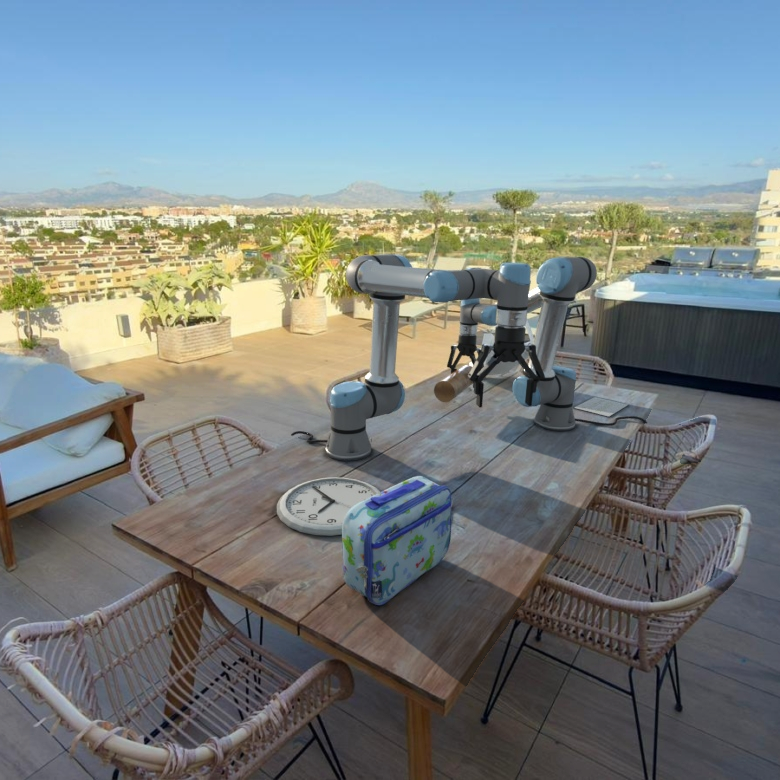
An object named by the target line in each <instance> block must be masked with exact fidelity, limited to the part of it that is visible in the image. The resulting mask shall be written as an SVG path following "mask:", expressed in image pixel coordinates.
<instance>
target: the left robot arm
mask: <svg viewBox="0 0 780 780" xmlns="http://www.w3.org/2000/svg"><path fill="white" fill-rule="evenodd" d="M412 265H413V264H412V263H410V260H409V259H408V258H406V257H405V256H404V255H401V254H393V253H392V254H391V253H385V254H365V255H364V254H363V255H360V256H357V257H355V258H354V259H352V260H351V261H350V262H349V264H348V265H347V267H346V272H345V279H346V282H347V285H348V286H349V287H350V288H351V290H353V291H355V292H356V293H358V294H364V295H365V294H366V295H368V297H369V299H370V300H371V301H372V302H373V304H372V321H371V322H372V323H371V340H370V341H371V342H370V343H371V344H370V360H369V363H370V364H369V371H368V372H367V373H366V374H365V375H364V382H362V381H358V380H352V381H344V382H340V383H339V384H336V385H334V386H333V388H332V389H331V391H330V397H329V404H330V433H329V435H328V439H313V438H314V435H313V434H312V433H310V432H307V431H304V430H303V431H302V430H296V431H293V432H292V433H291V434H290V436H292V437H293V436H295V435H298V434H301V435H306V436H308V438H306V440H305V441H306V443H308V444H316V443H326V446H325V453H326V455H327V456H328V457H329V458H331V459H332V460H333V459H334V460H337V461H342V462H343V461H347V462H353V461H359V460H362V459H366V458H367V457H369V456H370V455H371V453H372V444H371V443H372V442H373V440H372V437H371V436H370V437H369V435H368V433H367V420H369V419H373V418H376V417H381V416H384V415H390V414H392V413H395V412H397V411H399V410H400V409H401V407H402V406H403V405H404V402H405V399H406V391H405V390H406V389H405V388H404V384H403V382H402V381H400V377H399V376H398V374H396V366H397V364H396V363H397V352H398V351H397V349H398V338H399V337H398V336H399V323H400V309H401V308H400V307H401V303H402V302H403V301H405V299H406V296H409V297H416V298H423V299H428V300H429V301H430V302H432V303H440V304H446V303H449V302H456V301H461V300H468V299H478V298H479V299H486V300H494V301H497V302H496V304H497V314H496V324H498V325H496V326H494V327H495V329H494V336H495V342H494V345H493V346H491V345H486V344H483V345H482V344H481V346H482V348H481V347H480V349H481V352H480V354H479V356H478V355H477V358H476V361H475V363H474V365H473V367H472V369H471V370H470V372H469V374H468V376H467V377H468V378H469V379H470V380H471V381H474V388H473V393H474V394H475V395H476V401H475V405H476V406H477V407H478V408H483V402H484V401H483V399H484V387H485V384H484V382H483V380H484V379H485V378H487V377H488V376H489V375H488V374H489V373H490V371H491V370H492V369H493V368H494V367H495V366H496V365H497V364H499V363H500V362H501V361H502V362H515V361H518V362H519V364H518V365H520V366H521V368H522V370H523V369H524V370H525V372H526V373H527V374H528V376H529V377H530V378H531V380H530V379H527V387H526V397H525V403H526V404H527V405H528V406H532V397H533V393H535V392H536V387H537V383H538V382H539V380H540V379H544V378H545V375H544V372H543V370H542V367H541V365H540V362H539V360H538V357H537V354H536V346H535V345H534V344H532V343H529V344H528V345H524V343H525V341H526V331H527V329H526V326H525V325H526V320H527V319H528V314H527V308H528V306H527V305H528V296H529V291H530V289H531V284H532V280H531V275H532V273H531V272H532V268H531V265H530V264H528V263H526V262H502V263H501V264H500V267H499V269H490V268H482V267H468V268H465V269H451V270H450V269H449V270H448V269H438V268H437V269H434V268H425V267H414V266H412ZM492 350H493V352H494V353H495V354H494V355H493V356H492V357H491V359H490V360H489V362H488V363H487V364H486V365H485V366H484V367H483V368H482V369H481V367H482V365H483V363H484V362H485V360H486V358H487V356H488V354H489V353H490V352H491V351H492ZM525 350H526V351H527V352H528V354H529V356H530V357H529V356H528V357H529V359H531V362H532V364H533V367H534V369H535V372H536V374H534V372H533V371H532V370H531V368H530V367H529V366H528V363H527V361H526V359H525V360H524V358H523V357H522V356H521V355H522V353H523V352H524V351H525ZM480 369H481V370H480ZM479 371H480V372H479ZM478 372H479V373H478ZM532 407H533V406H532ZM307 433H308V434H307ZM369 438H370V439H369Z"/></svg>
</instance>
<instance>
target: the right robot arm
mask: <svg viewBox="0 0 780 780" xmlns="http://www.w3.org/2000/svg"><path fill="white" fill-rule="evenodd" d="M597 276H598V271H597V266H596V265H595V263H594V261H592V260H591V259H589V258H587V257H584V256H558V257H557V256H556V257H552V258H549V259H547V260H545V261H544V262H543V263H542V264H541V265H540V266H539V268H538V270H537V273H536V276H535V280H536V285H537V287H535V288H533V289H531V290H529V296H528V305H527V306H528V308H527V315H528V314H530V313H532V312H534V311H536V310H539V309H540V311H539V312H540V313H539V315H538V319H537V325H536V329H535V332H534V333H535V334H534V336H533V337H534V342H533V344H534V345H535V346H536V354H537V357H538V360H539V362H540V365H541V367H542V370H543V372H544V375H545V378H544V379H540V380H539V382H538V383H537V387H536V392H535V393H533V397H532V406H528V405H527V404H526V403H525V397H526V387H527V379H530V380H531V378H530V377H529V376H528V374H527V373H526V372H525V370H524V369H523V368H522V370H521V375H519V376H518V377H517V378H515V379H514V380H513V382H512V393H513V396H514V398H515V400H516V401H517V403H518V404H520V405H521V406H523V407H526V408H532V407H538V406H539V407H538V410H537V411H536V413H535V417H534V424H535V425H536V426H537V427H539V428H542V429H544V430H549V431H556V432H567V431H572V430H574V429H575V428H576V422H579V423H585V424H591V425H597V426H605V427H611V426H615V425H617V423H618V421H619V420H629V419H635V420H638V421H641V422H643V423H644V424H648V421H647V420H646V419H644V418H642V417H640V416H635V415H627V416H626V415H625V416H618V417H615V418H614V421H613V422H598V421H594V420H593V421H592V420H586V419H581V418H575V417H576V416H575V413H574V407H573V405H574V398H575V390H576V383H577V372H576V371H575V369H572V368H571V367H570V368H569V367H566V366H561V365H554V364H555V360H556V356H557V352H558V348H559V344H560V340H561V335H562V332H563V327H564V324H565V320H566V317H567V316H566V315H567V311H568V309H569V305H570V304H572V303H574V302H575V299H576V295H577V294H579V293H582V292H585V291H587V290H588V289H590V288H591V287H592V286H593V285H594V284H595V282H596V280H597ZM459 311H460V312H459V324H458V325H459V326H458V333H459V334H458V340H457V341H458V343H457V345H456V344H452V345H451V346H450V354H449V357H448V361H447V364H446V367H447V369H450V374H452V373H453V372H455V371H456V370H458V368H456V367H457V365H458V363H459V362H460V360H461V358H462V357H465V356H466V357H469V359H470V362H472V363H473V365H474V363H475V361H476V360H477V358H476V354H477V357H478V356H479V354H480V352H481V348H479V347H477V339H478V336H477V334H478V325H479V324H482V325H486V326H491V327H496V326H497V325H498V324H496V314H497V303H496V304H483V303H481V302H480V298H478V299H468V300H460V309H459ZM457 350H458V352H459V353H458V354H457V356H456V358H455V354H456V351H457ZM454 358H455V359H454ZM527 364H528V366H529V367H530V368H531V370H532V371H533V372H534V374H536V372H535V369H534V367H533V364H532V362H531V359H530V358H529V360H528V363H527ZM483 367H484V363H483V365H482V367H481V369H482V368H483ZM481 369H480V370H481ZM479 372H480V371H479ZM479 372H478V373H479ZM472 388H473V389H474V381H473V384H472Z"/></svg>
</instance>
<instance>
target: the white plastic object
mask: <svg viewBox="0 0 780 780" xmlns="http://www.w3.org/2000/svg"><path fill="white" fill-rule="evenodd" d="M524 327H525V328H526V331H527V332H526V333H527V335H528V338H529V341H527V342H524V345H528V344H529V343H532V344H533V342H534V337H535V336H534V334H533V330H532V328H531V325H530V323H529V319H528V318H527V320H526V325H525V326H524ZM494 342H495V334H493V333H483V337H482V342H481V346H480V349H481V348H482V345H483V344H486V345H491V346H493V345H494ZM494 354H495V353H494V352H493V350H492V351H491V352H490V353H489V354H488V356H487V358H486V360H485V362H484V366H485V365H486V364H487V363H488V362H489V360H490V359H491V357H492V356H493V355H494ZM521 356H522V357H523V358H524V360H525V361H526V360H527V359H528V357H529V358H530V356H529V354H528V352H527V351H526V350H525V351H524V352H523V353H522V355H521ZM468 365H469V366H471V367H473V363H472V361H470V362H468ZM518 365H520V364H519V362H518V361H515V362H502V361H501V362H500V363H499V364H497V365H496V366H495V367H494V368H493V369H492V370H491V371H490V373H489V374H488V375H487V376H495V375H500V376H505V375H507V374H509V373H511V370H513V369H514V368H515V367H517V366H518Z"/></svg>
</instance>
